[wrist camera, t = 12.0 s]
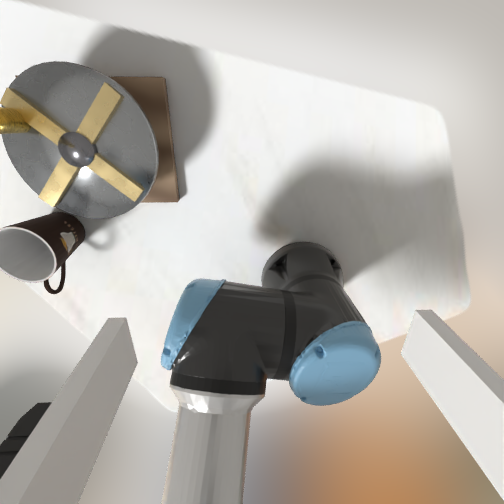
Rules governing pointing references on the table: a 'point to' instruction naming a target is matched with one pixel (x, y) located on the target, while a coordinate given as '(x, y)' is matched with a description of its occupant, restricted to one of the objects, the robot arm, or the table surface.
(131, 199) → the handwheel
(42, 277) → the coffee mug
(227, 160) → the table surface
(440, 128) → the table surface
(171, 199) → the wheel stand
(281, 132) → the table surface
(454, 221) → the table surface
